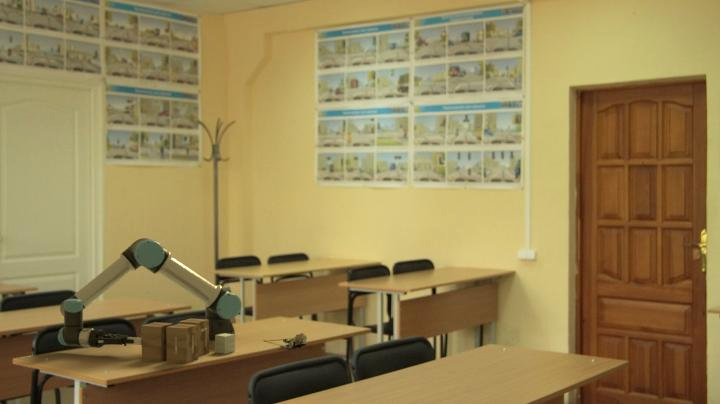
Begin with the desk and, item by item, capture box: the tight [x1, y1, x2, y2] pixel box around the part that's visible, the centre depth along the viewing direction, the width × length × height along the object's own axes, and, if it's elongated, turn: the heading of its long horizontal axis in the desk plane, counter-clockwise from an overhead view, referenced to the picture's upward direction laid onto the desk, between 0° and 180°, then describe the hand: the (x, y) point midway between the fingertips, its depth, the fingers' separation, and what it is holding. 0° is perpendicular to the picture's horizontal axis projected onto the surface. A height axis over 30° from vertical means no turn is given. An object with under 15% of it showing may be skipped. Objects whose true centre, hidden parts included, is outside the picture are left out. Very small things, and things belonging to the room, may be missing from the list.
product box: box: [214, 333, 236, 355], centre depth 383 cm, size 6×6×7 cm
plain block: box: [141, 321, 174, 363], centre depth 368 cm, size 9×9×14 cm
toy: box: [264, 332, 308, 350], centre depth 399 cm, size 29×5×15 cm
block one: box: [166, 323, 199, 365], centre depth 364 cm, size 9×9×14 cm
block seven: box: [178, 318, 210, 358], centre depth 378 cm, size 9×9×14 cm
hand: (141, 341), depth 371 cm, fingers closed
